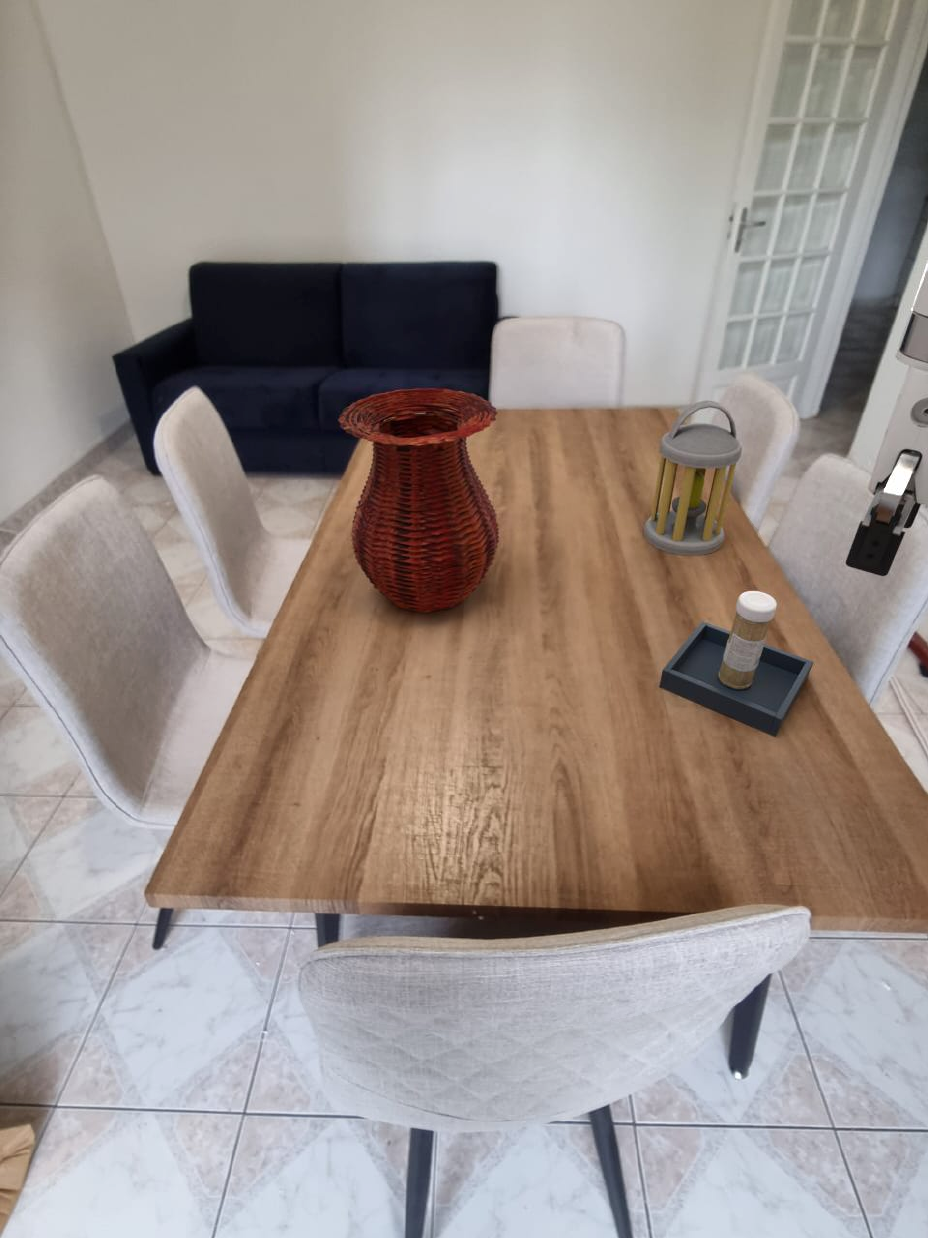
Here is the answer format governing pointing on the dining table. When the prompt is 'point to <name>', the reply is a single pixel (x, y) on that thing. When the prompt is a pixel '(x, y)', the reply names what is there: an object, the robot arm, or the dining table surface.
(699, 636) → the tray
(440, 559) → the vase
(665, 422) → the dining table surface
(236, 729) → the dining table surface
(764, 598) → the sprinkles bottle
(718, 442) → the lantern
